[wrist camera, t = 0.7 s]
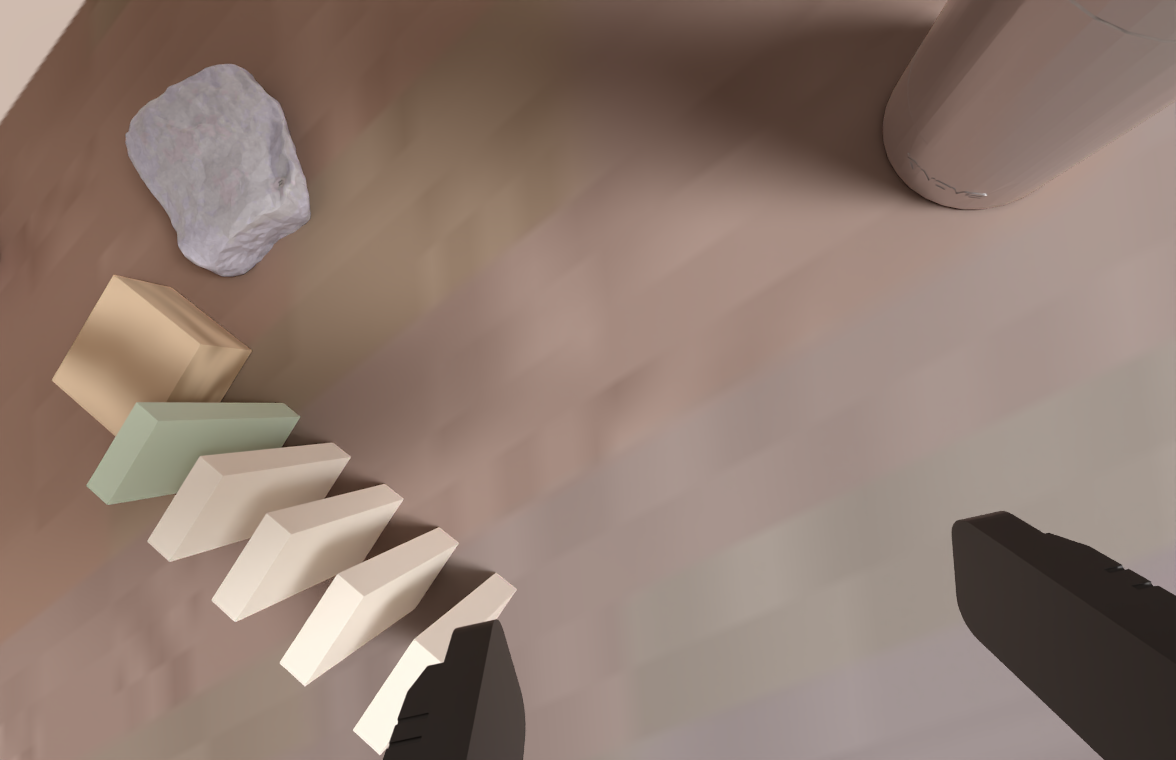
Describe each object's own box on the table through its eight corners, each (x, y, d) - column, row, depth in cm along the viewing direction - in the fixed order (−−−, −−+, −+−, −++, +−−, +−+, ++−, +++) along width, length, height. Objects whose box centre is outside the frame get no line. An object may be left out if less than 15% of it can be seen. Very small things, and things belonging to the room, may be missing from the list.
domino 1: (244, 464, 38) (86, 485, 28) (283, 402, 38) (136, 402, 28) (261, 479, 38) (107, 505, 28) (300, 416, 37) (158, 420, 28)
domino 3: (343, 547, 36) (211, 600, 27) (384, 483, 36) (266, 513, 26) (361, 563, 36) (235, 622, 26) (403, 498, 36) (291, 534, 26)
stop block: (171, 287, 40) (113, 274, 36) (252, 350, 38) (201, 344, 34) (114, 382, 40) (51, 380, 36) (191, 448, 39) (134, 453, 35)
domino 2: (292, 505, 37) (147, 541, 27) (332, 442, 37) (199, 456, 27) (310, 520, 37) (169, 561, 27) (351, 456, 37) (223, 475, 27)
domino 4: (395, 592, 36) (279, 662, 26) (439, 527, 35) (337, 573, 25) (415, 608, 35) (304, 686, 26) (458, 543, 35) (363, 596, 25)
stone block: (275, 84, 41) (152, 155, 41) (234, 36, 36) (93, 115, 36) (357, 217, 40) (231, 292, 39) (326, 185, 35) (181, 270, 35)
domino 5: (451, 638, 35) (352, 730, 25) (496, 572, 34) (414, 639, 25) (471, 655, 34) (380, 755, 25) (516, 589, 34) (442, 663, 24)
